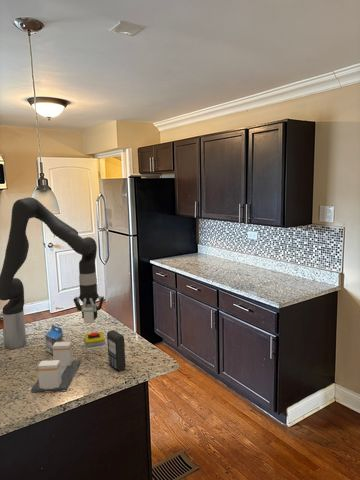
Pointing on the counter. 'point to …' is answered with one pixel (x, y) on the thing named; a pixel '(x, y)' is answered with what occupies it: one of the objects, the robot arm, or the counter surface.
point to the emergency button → (94, 340)
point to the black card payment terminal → (116, 350)
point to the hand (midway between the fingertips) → (90, 318)
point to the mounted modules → (55, 365)
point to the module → (88, 314)
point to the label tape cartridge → (53, 338)
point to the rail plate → (66, 378)
